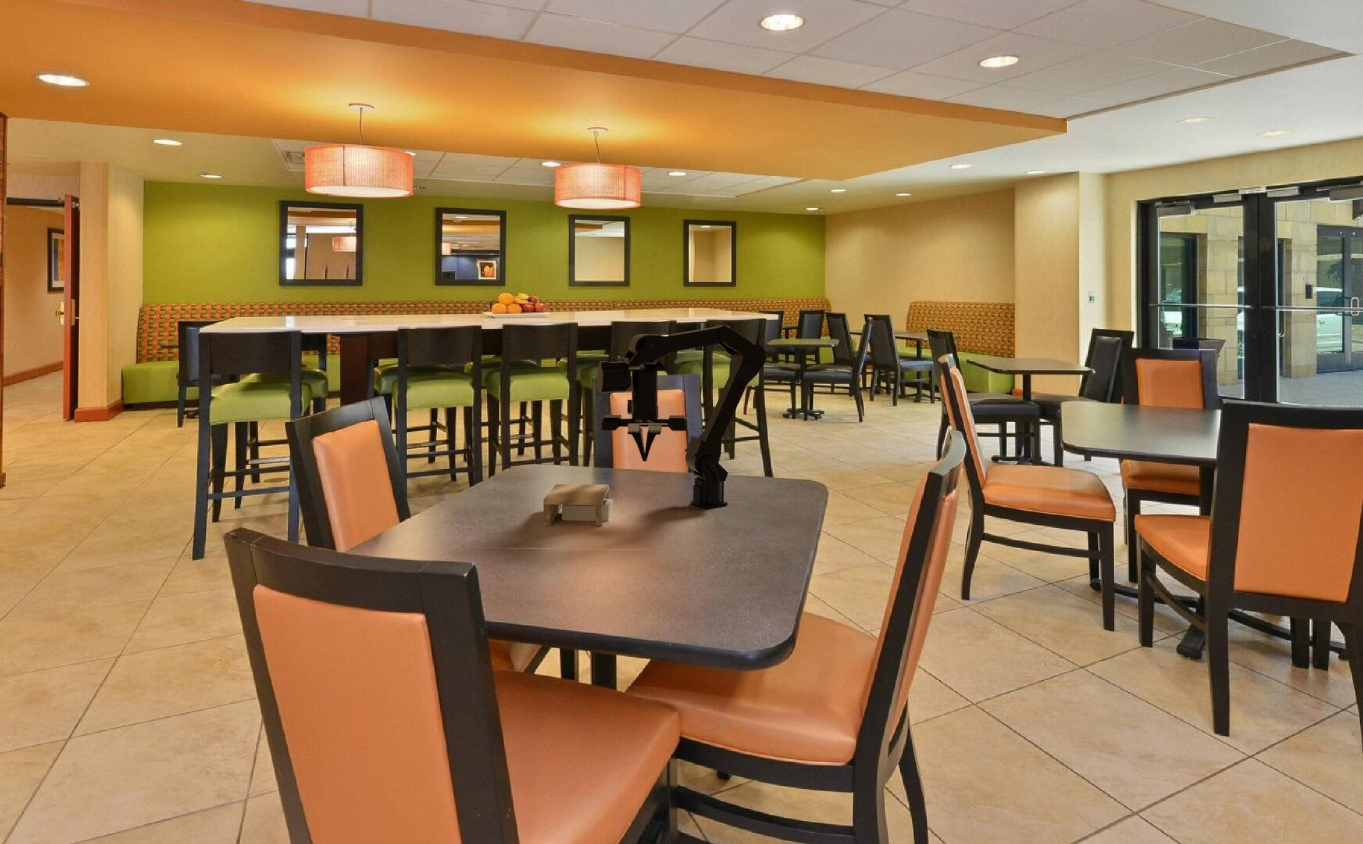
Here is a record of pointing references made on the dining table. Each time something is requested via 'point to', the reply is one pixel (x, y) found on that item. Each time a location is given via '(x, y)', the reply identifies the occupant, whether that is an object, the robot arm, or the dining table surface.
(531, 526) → the dining table surface
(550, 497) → the oak shelf
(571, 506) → the beige tray
